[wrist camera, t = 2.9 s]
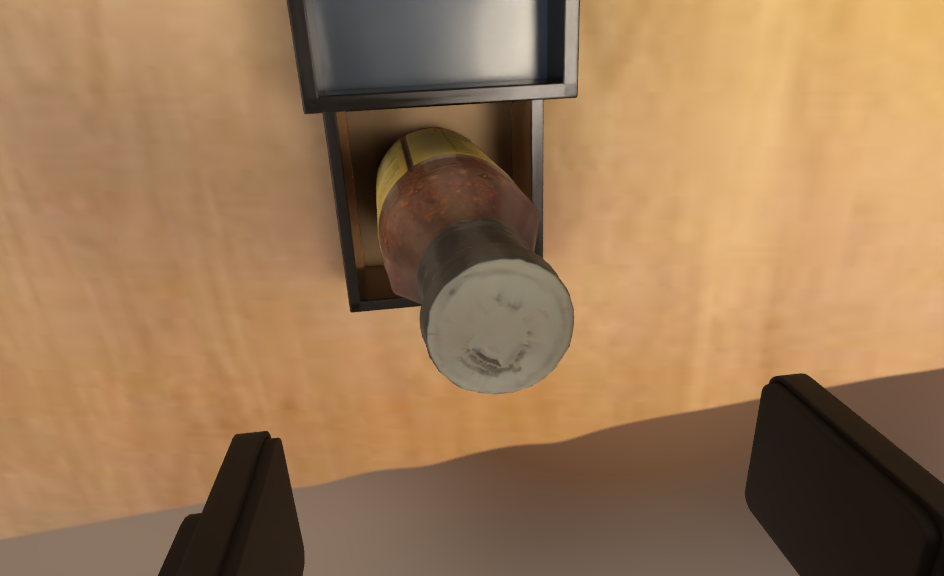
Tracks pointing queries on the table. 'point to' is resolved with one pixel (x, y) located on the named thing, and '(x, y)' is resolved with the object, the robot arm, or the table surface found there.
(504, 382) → the sauce bottle
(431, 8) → the bottle rack
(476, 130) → the table surface
